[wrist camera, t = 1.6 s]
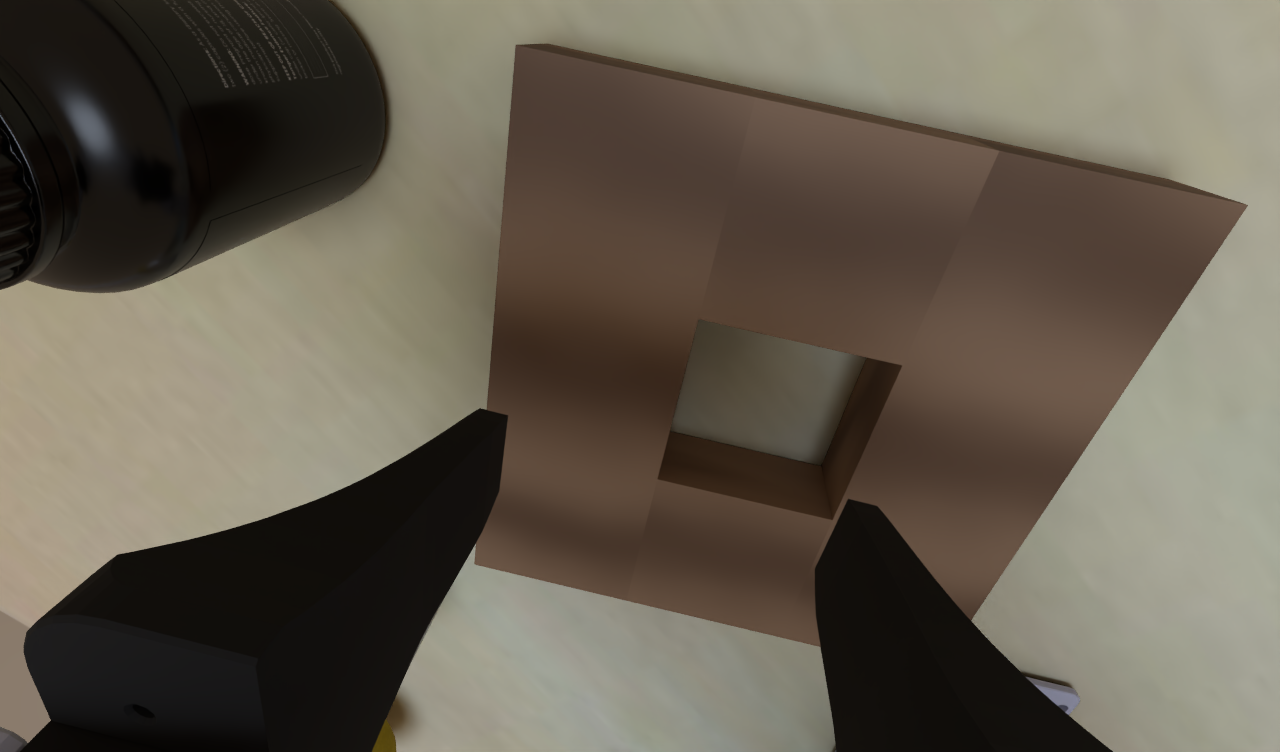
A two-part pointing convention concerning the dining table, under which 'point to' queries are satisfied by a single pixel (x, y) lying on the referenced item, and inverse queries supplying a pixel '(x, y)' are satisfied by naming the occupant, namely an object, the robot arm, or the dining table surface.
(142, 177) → the supplement bottle
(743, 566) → the dock block
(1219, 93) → the dining table surface
